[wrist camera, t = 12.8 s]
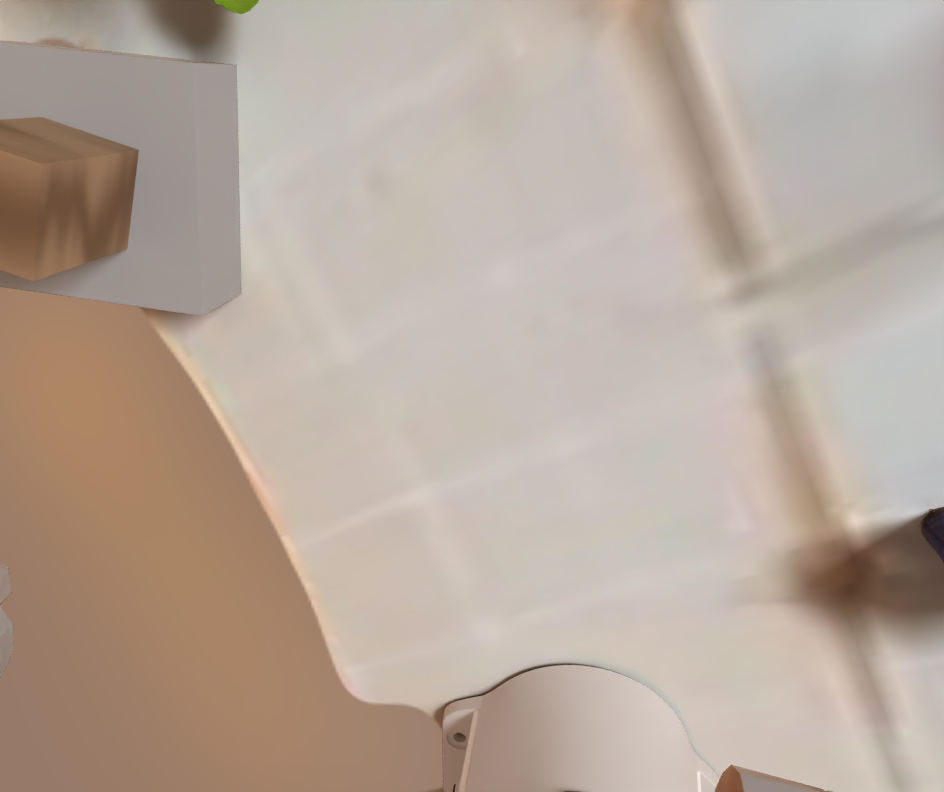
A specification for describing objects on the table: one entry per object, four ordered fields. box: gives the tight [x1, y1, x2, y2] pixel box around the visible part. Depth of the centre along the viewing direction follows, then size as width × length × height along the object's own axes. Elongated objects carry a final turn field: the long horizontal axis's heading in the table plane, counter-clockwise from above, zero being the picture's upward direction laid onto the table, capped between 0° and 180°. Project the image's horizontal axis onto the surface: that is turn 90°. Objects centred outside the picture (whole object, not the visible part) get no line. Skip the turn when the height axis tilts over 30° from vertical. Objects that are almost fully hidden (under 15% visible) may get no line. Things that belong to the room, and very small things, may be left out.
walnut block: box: [0, 117, 139, 281], centre depth 35 cm, size 5×5×7 cm
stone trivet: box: [0, 40, 241, 316], centre depth 41 cm, size 12×12×5 cm
